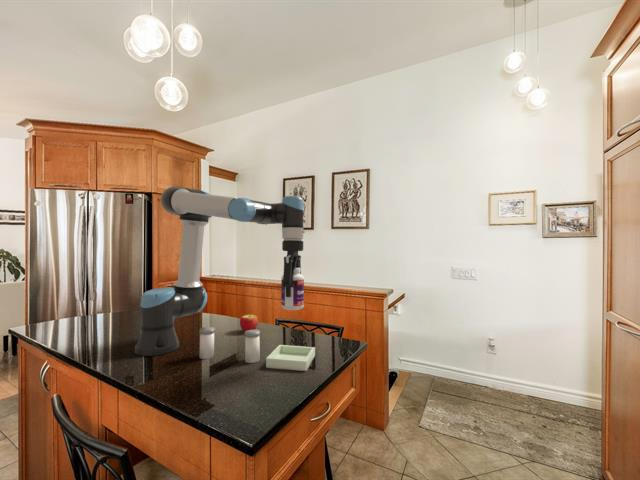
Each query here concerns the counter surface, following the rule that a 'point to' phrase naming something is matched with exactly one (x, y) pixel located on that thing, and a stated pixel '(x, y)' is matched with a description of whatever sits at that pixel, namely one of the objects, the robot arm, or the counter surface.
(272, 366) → the tray
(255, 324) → the apple
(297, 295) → the pill bottle
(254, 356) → the canister
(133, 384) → the counter surface
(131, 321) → the counter surface
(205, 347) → the canister
